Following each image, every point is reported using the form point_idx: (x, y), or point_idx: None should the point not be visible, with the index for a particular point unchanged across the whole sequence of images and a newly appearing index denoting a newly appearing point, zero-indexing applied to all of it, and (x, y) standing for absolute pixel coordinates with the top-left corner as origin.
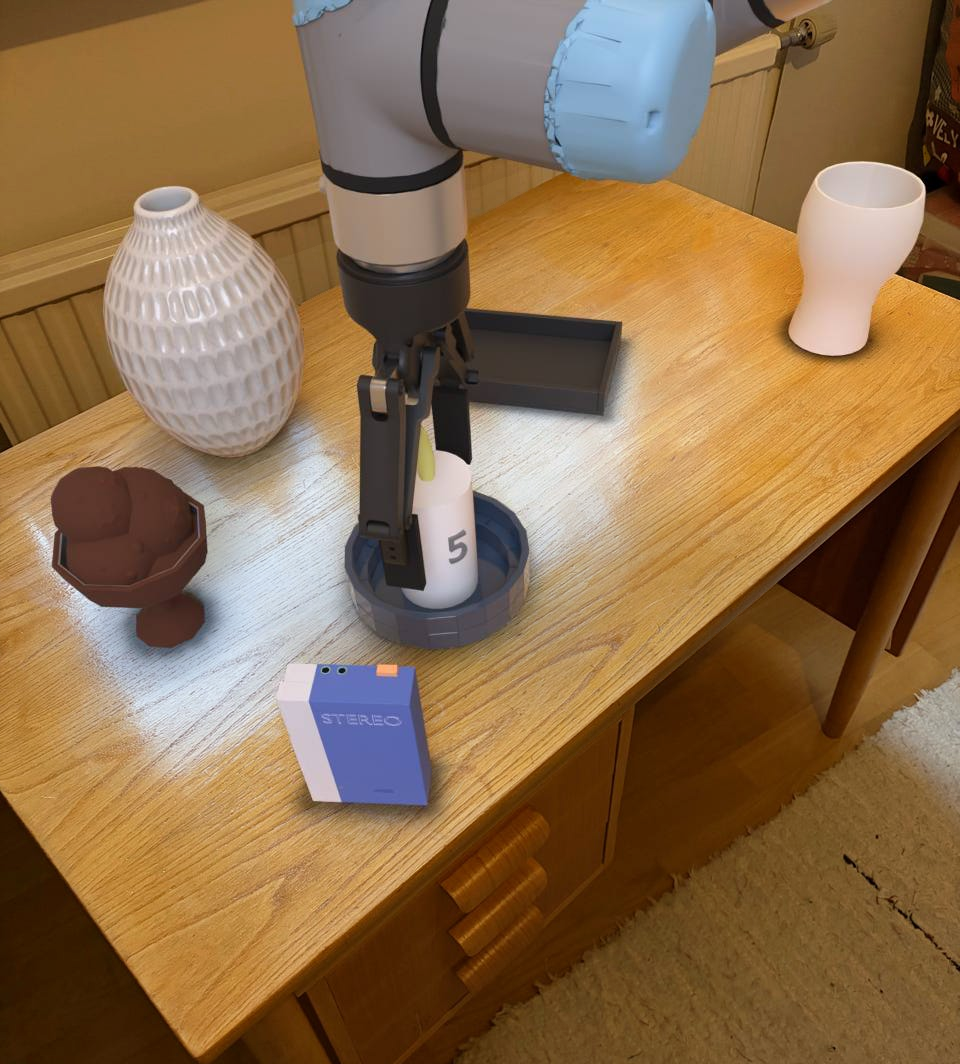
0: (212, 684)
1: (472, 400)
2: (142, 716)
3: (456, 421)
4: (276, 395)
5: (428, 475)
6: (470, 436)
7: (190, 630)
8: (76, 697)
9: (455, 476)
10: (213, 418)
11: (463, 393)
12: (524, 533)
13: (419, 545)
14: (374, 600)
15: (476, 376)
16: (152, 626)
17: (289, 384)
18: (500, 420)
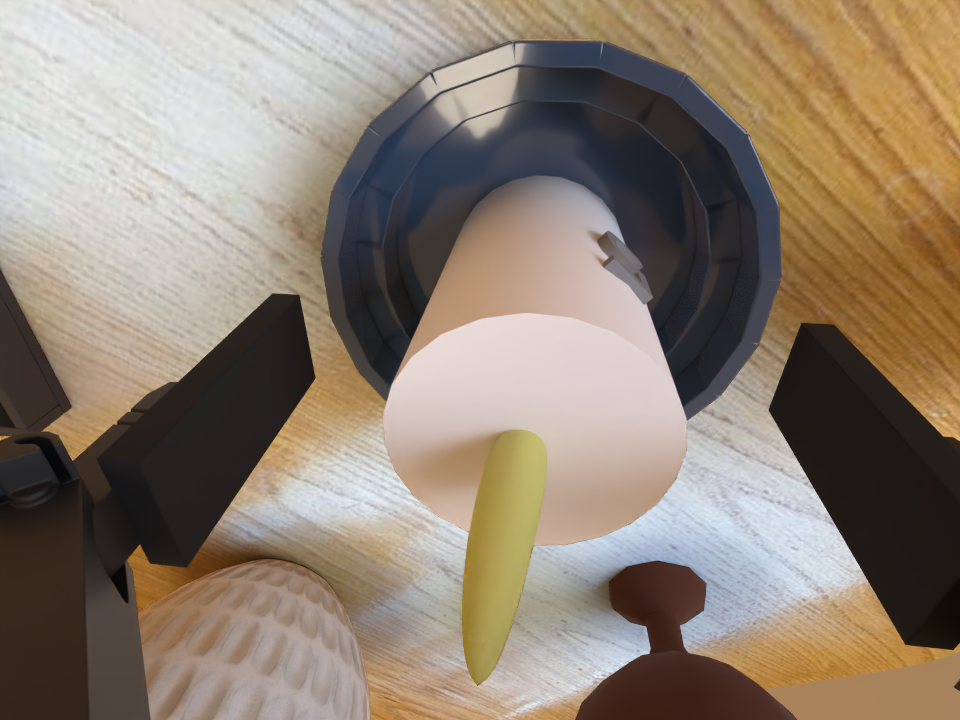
0: (781, 532)
1: (11, 297)
2: (830, 586)
3: (228, 412)
4: (256, 659)
5: (543, 459)
6: (233, 335)
7: (684, 576)
8: (785, 643)
9: (506, 369)
10: (351, 713)
11: (132, 471)
12: (445, 73)
13: (916, 430)
14: (710, 391)
15: (7, 464)
16: (688, 618)
17: (219, 649)
18: (28, 227)
